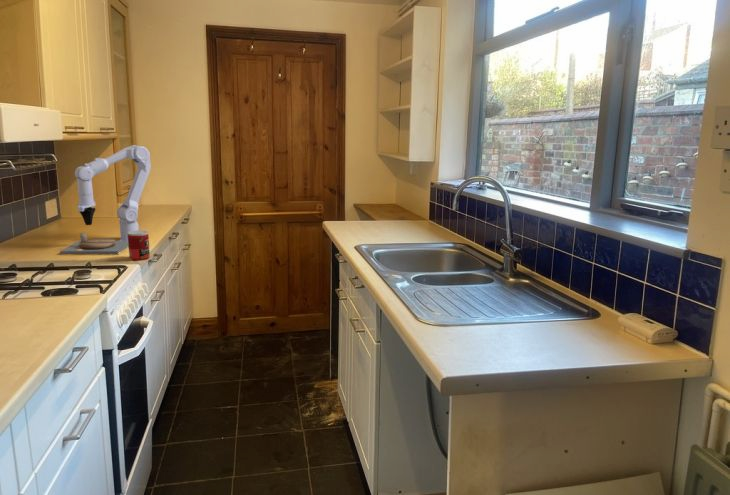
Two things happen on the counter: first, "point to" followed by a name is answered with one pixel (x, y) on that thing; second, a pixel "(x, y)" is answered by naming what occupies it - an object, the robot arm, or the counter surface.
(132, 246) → the canned food
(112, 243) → the dial
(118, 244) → the board
